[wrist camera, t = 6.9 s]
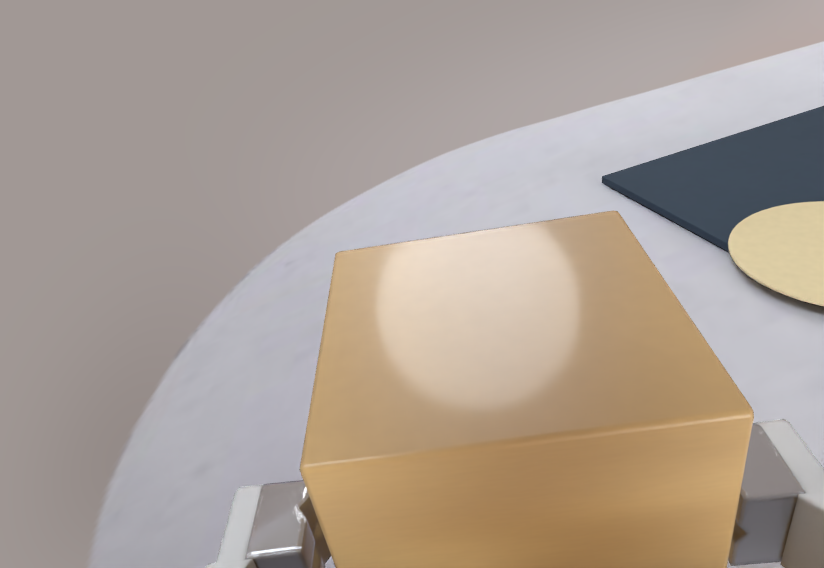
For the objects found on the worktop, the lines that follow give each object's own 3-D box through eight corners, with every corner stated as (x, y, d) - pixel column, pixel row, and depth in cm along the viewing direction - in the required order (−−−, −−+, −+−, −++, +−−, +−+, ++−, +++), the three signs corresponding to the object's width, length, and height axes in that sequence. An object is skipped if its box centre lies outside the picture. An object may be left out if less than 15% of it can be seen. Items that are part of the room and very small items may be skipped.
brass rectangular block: (426, 817, 12) (296, 469, 7) (419, 579, 16) (334, 250, 11) (687, 795, 12) (758, 411, 7) (611, 557, 16) (617, 207, 11)
